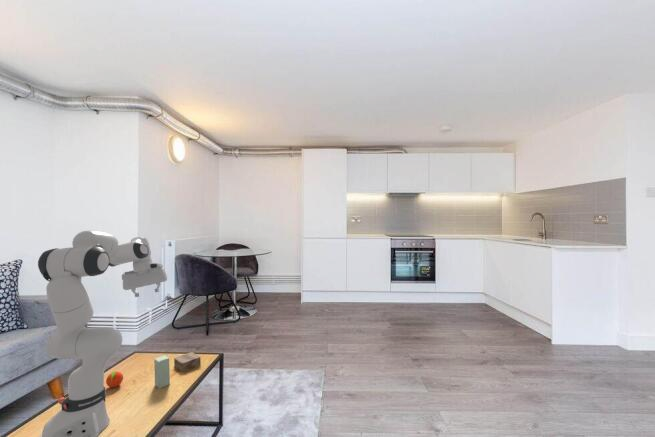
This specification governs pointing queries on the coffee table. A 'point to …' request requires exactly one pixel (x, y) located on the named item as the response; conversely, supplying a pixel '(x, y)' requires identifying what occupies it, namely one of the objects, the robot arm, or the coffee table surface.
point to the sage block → (162, 371)
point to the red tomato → (114, 379)
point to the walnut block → (187, 361)
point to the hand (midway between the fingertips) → (147, 294)
